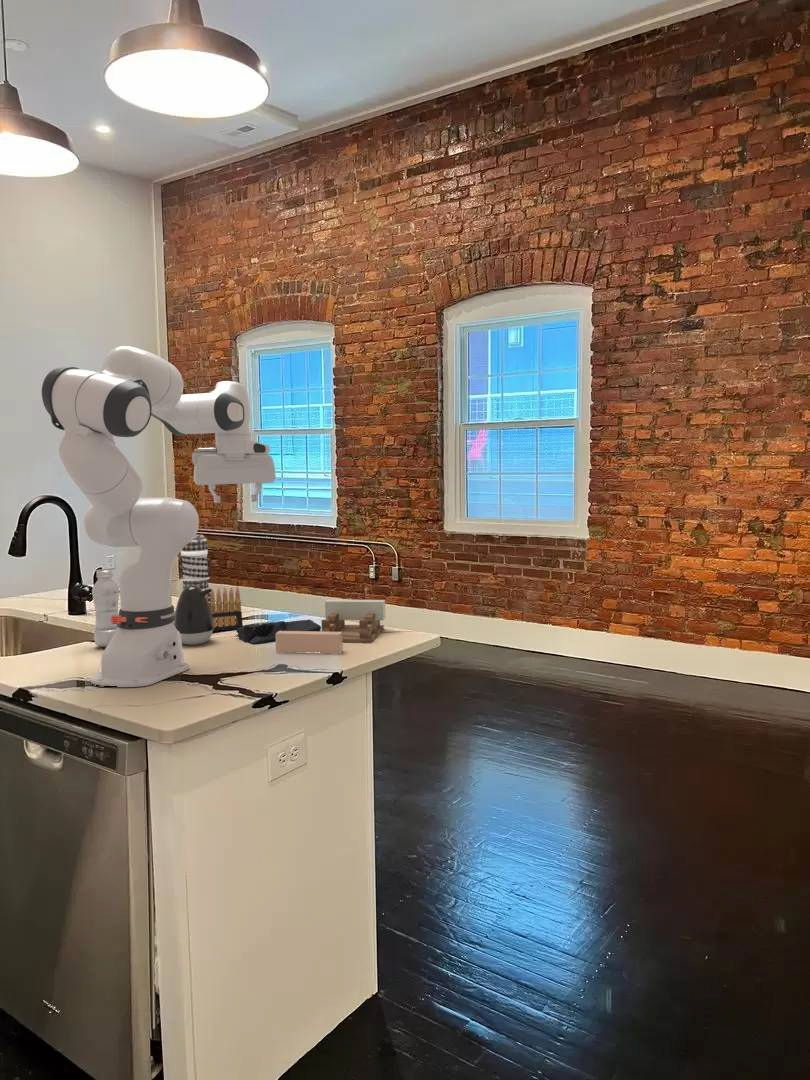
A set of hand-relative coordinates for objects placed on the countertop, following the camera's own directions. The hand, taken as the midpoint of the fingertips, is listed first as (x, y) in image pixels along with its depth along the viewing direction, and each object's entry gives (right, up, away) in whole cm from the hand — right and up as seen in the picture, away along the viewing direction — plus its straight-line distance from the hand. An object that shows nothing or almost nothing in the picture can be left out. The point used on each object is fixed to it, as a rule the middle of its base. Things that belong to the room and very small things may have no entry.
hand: (236, 502), depth 201 cm
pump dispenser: (-12, -37, +5) cm, 39 cm away
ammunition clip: (-8, -35, +21) cm, 42 cm away
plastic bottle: (-34, -37, +3) cm, 50 cm away
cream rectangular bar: (+29, -31, +14) cm, 45 cm away
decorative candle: (-21, -33, +41) cm, 57 cm away
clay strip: (+19, -37, -7) cm, 43 cm away
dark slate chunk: (+9, -36, +13) cm, 39 cm away
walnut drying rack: (+29, -35, +10) cm, 46 cm away
